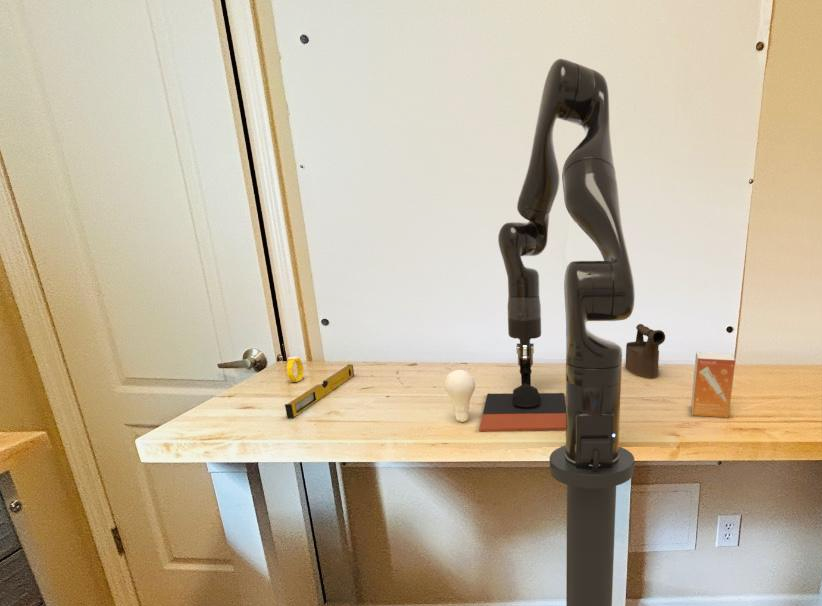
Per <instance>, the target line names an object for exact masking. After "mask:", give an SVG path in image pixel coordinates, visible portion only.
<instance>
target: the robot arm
mask: <svg viewBox="0 0 822 606" xmlns="http://www.w3.org/2000/svg"><path fill="white" fill-rule="evenodd" d="M538 109H539V110H538V113H537V118H536V123H535V129H534V135H533V139H532V146H531V151H530V157H529V163H528V166H527V170H526V173H525V177H524V180H523V183H522V186H521V188H520V192H519V196H518V198H517V202H516V210H517V212H518V214H519V216H521V217H522V218H523V219H524V220H527V222H525V221H524V222H522V221H521V222H520V221H517V222H515V221H512V222H509V221H508V222H505V223H504V224H503V225H501V227H500V228H499V231H498V235H497V243H498V248H499V251H500V254H501V258H502V261H503V265H504V268H505V273H506V276H507V295H508V296H507V329H508V330H507V331H508V336H509V338H512V339H517V340H519V342H518V343H516V354H517V365H518V366H519V374H520V380H521V381H520V382H521V385H523V384H525V383H526V384H529V385H531V386H532V376H531V375H532V366H533V365H534V354H535V353H534V352H535V344H534V343H533V342H531V340H532V339H533V340H534V339H538V338H540V337H541V336H542V305H541V298H540V274H539V271H538V270H537V269H535V268H533V267H529V266H525V265H524V262H523V260H522V257H537V256H540V255H541V254H542V253H543V252H544V251H545V249H546V247H547V245H548V238H549V227H550V225H549V224H550V214H551V211H552V209H553V206H554V203H555V201H556V198H557V196H558V192H559V190H560V189H559V188H560V181H562V189H563V191H562V192H563V200H564V205H565V208H566V211H567V212H568V214H569V216H570V218H571V219H572V220H573V221H574V223H575V224H576V225H577V226H578V227H579V228H580V230H581V231H582V232H583V233H584V234H585V235H586V236H587V238H589V239H590V240H591V241H592V243H593V244H594V245H595V246H596V248H597V249H598V251H599V253H600V255H601V257H602V259H603V260H572V261H570V262H569V263H568V264H567V266H566V268H565V272H564V279H563V280H564V282H563V289H564V290H563V291H564V294H563V295H564V309H565V310H564V311H565V312H564V313H565V404H566V430H565V445H566V452H565V459H566V460H567V461H568V462H569V463H570V464H572V465H575V466H576V468H577V469H581V468H593V471H598V468H612V467H613V464H615V463H616V462H617V461H618V460H619V453H618V452H619V447H620V421H621V420H620V419H621V396H622V395H621V392H622V391H621V390H622V370H623V367H622V366H623V348H622V346H621V345H620V344H619V343H616V342H614V341H613V340H610V339H606V338H603V337H601V336H599V335H597V334H595V333H593V332H592V331H590V329H588V327H587V322H619V321H625V320H627V319H629V318H630V317H631V315H633V311H634V308H635V303H636V302H635V301H636V300H635V299H636V292H635V291H636V290H635V281H634V276H633V270H632V266H631V261H630V256H629V253H628V247H627V244H626V239H625V236H624V229H623V224H622V215H621V206H620V205H621V204H620V197H619V195H620V194H619V187H618V180H617V173H616V168H615V167H616V166H615V163H614V155H613V146H612V139H611V120H610V118H611V117H610V93H609V85H608V82H607V80H606V77H605V75H604V74H602V73H600V71H597V70H595V69H593V68H590V67H587V66H584V65H582V64H579V63H577V62H573V61H570V60H568V59H565V58H558V59H556V60H555V61H553V63H552V64H551V66H550V67H549V70H548V72H547V75H546V78H545V81H544V84H543V89H542V93H541V97H540V102H539V107H538ZM557 120H561V121H563V122H567V123H571V124H574V125H576V126H580V127H581V128H582V129H583V131H584V137H583V138H582V139H581V141H580V142H578V144H577V145H576V146H575V147H574V148H573V149H572V151H571V152H570V153H569V155H568V156H567V158H566V159H565V161H564V164H563V167H562V171H561V172H562V173H561V177H560V169H559V164H558V160H557V155H556V150H555V146H554V130H555V125H556V122H557ZM560 178H561V179H562V180H561V179H560ZM521 385H520V386H521Z"/></svg>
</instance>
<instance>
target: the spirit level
mask: <svg viewBox="0 0 822 606" xmlns="http://www.w3.org/2000/svg"><path fill="white" fill-rule="evenodd" d="M352 377H355V371H354V365H353V364H347V365H346V366H344V367H343V368H341V369H340V370H338V371H336V372H335V373H334V374H332V375H330V376H328V377H327V378H326V379H324V380H323V381H322V383H320V384H316V385H315V386H313V387H311V388H310V389H309V390H306V391H305V392H304V393H302V394H301V395H299V396H297V397H296V398H294V399H293V400H291V401H290V402H288V403H285V404H284V407H285V413H286V418H287V419H295V417H296V416H298V415H299V414H301V413H302V412H303V411H305V410H306V409H308V408H310V407H311V406H312V405H314V404H315V403H316V402H318V401H319V400H321V399H322V398H324V397H325V396H326V395H328V394H330V393H331V392H332V391H333V390H335V389H337V388H338V387H339V386H341V385H342V384H343V383H345V382H346V381H348V380H350V379H351V378H352Z"/></svg>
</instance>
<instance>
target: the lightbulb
mask: <svg viewBox="0 0 822 606" xmlns="http://www.w3.org/2000/svg"><path fill="white" fill-rule="evenodd" d="M443 383H444V384H443V385H444V386H443V387H444V390H445V392H446V394H447V395H448V397H449V398H450V400H451V402H452V407H453V411H454V413H455V419H456V420H457V421H458V422H460V423H464V422H466V421H467V420H468V419H469V410H470V402H471V398H472V396H473V394H474V393H475V389H476V381H475V379H474V377H473V376H472V374H471V373H469V372H468V371H466V370H464V369H456V370H453V371H451V372H449V373H448V374H447V376H446V377H445V380H444V382H443Z"/></svg>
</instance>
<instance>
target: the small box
mask: <svg viewBox="0 0 822 606" xmlns="http://www.w3.org/2000/svg"><path fill="white" fill-rule="evenodd" d="M735 366H736V358H735V357H734V354H733V353H726V352H725V353H724V352H723V353H722V352H703V351H700V352H699V351H696V352H695V359H694V369H693V370H694V371H693V380H692V381H693V383H692V393H691V404H690V405H691V406H690V408H691V415H692V416H702V417H715V418H725V419H727V418H729V417H730V408H731V400H732V393H733V392H732V391H733V383H734V375H735Z"/></svg>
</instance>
